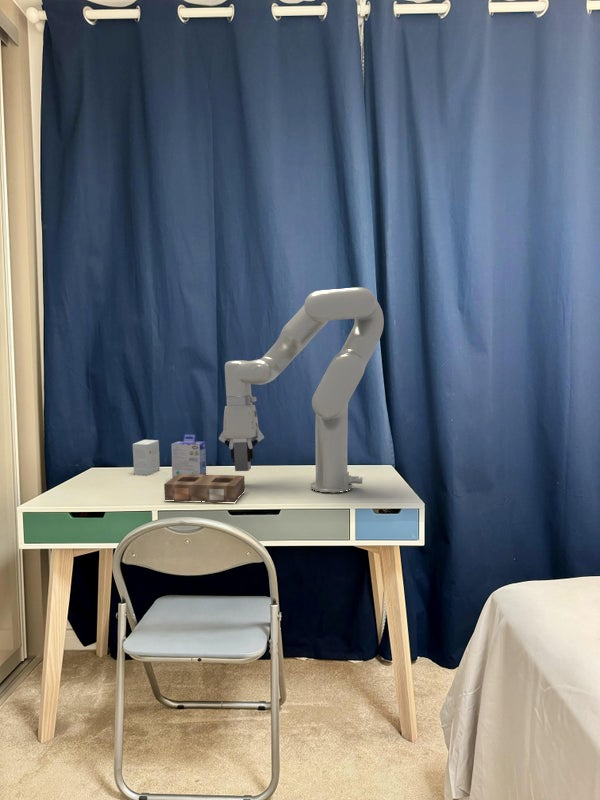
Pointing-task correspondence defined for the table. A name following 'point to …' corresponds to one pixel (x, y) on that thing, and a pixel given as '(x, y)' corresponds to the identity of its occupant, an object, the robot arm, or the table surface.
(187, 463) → the ink cartridge box
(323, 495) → the table surface
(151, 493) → the table surface
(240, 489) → the socket block
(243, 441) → the plug
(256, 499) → the table surface
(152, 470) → the small box
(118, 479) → the table surface
